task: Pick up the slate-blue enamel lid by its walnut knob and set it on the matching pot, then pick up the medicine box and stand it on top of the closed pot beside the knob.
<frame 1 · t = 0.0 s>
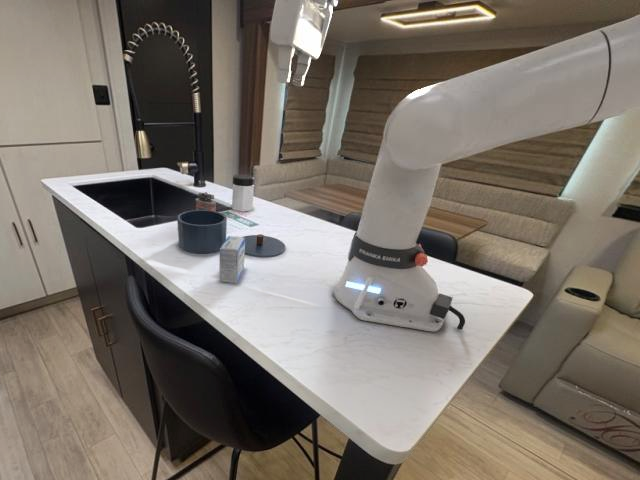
hand: (290, 84, 55), 39 cm above the kitchen island, tool pointing down, fingers open, 8 cm apart
lighter: (205, 223, 106), on the kitchen island
pot: (202, 246, 89), on the kitchen island
pot lid: (259, 246, 89), point 1 cm above the kitchen island
jar: (241, 208, 122), on the kitchen island
medicine box: (231, 276, 75), on the kitchen island
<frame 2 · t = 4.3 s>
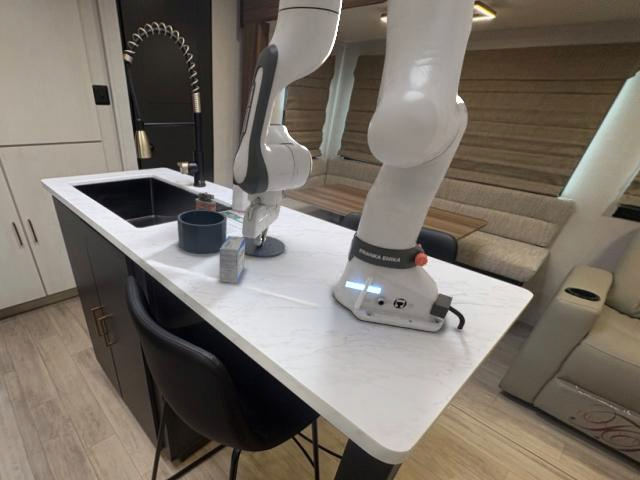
hand: (259, 242, 89), 2 cm above the kitchen island, tool pointing down, fingers closed on pot lid, 2 cm apart
pot lid: (259, 246, 89), point 1 cm above the kitchen island, touching gripper
everything else where it was.
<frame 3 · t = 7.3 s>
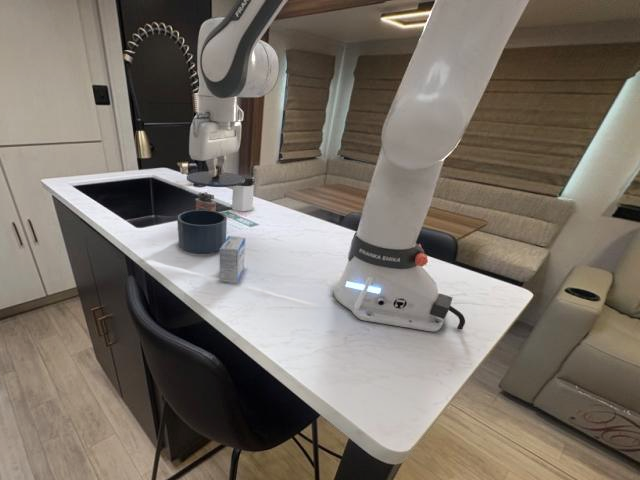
hand: (216, 175, 79), 20 cm above the kitchen island, tool pointing down, fingers closed on pot lid
pot lid: (215, 179, 79), point 19 cm above the kitchen island, touching gripper
everything else where it was.
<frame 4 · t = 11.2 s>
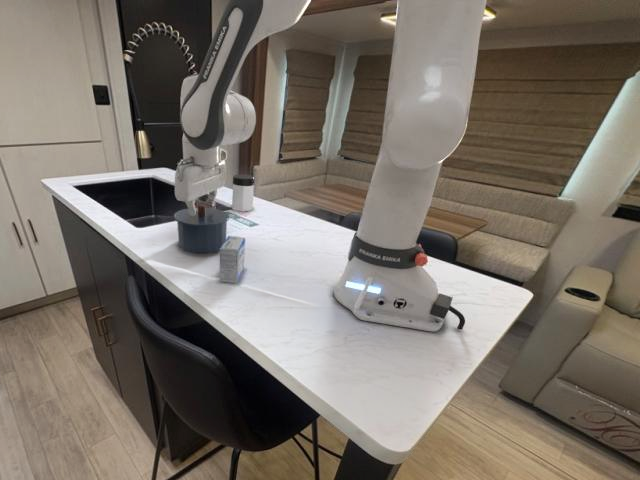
hand: (202, 210, 83), 10 cm above the kitchen island, tool pointing down, fingers open, 8 cm apart
pot lid: (201, 217, 84), point 8 cm above the kitchen island, touching pot
everything else where it was.
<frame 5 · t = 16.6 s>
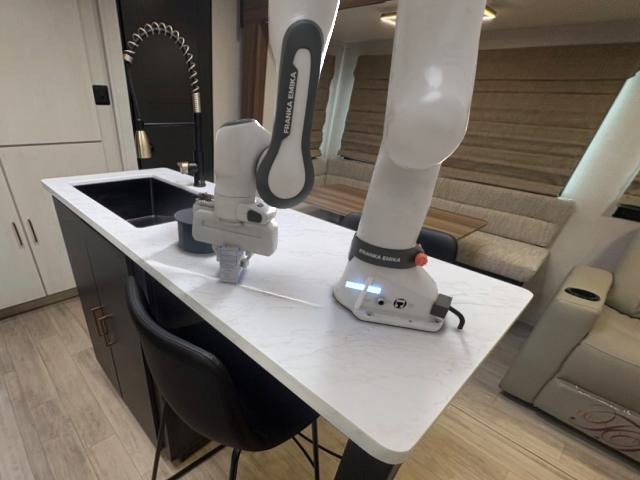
hand: (232, 264, 73), 3 cm above the kitchen island, tool pointing down, fingers closed on medicine box, 5 cm apart
medicine box: (231, 276, 75), on the kitchen island, touching gripper
everything else where it was.
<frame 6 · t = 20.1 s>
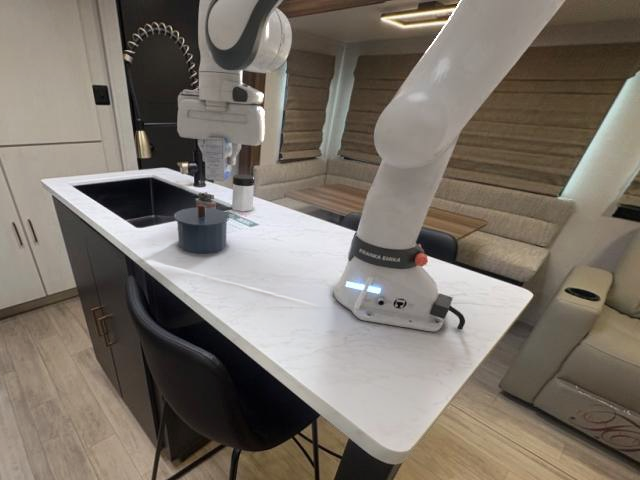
hand: (219, 163, 71), 24 cm above the kitchen island, tool pointing down, fingers closed on medicine box, 5 cm apart
medicine box: (218, 178, 73), point 20 cm above the kitchen island, touching gripper
everything else where it was.
when the fingers open (12 cm above the kitchen island, at t = 23.6 s): medicine box stays where it is, resting on pot lid.
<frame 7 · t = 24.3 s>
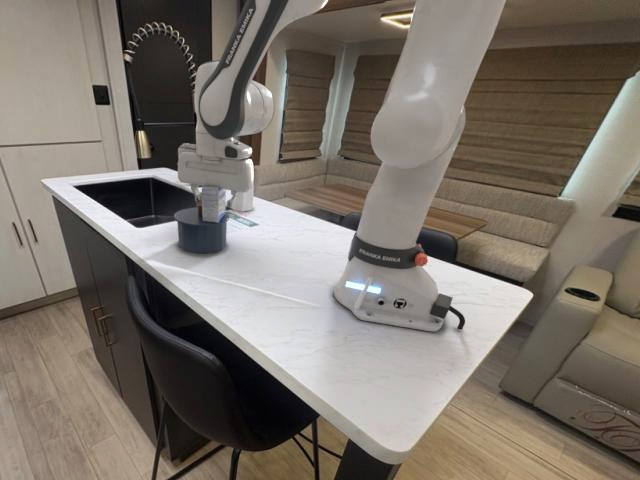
hand: (214, 204, 81), 13 cm above the kitchen island, tool pointing down, fingers open, 8 cm apart
pot lid: (201, 217, 84), point 8 cm above the kitchen island, touching medicine box, pot
medicine box: (214, 218, 83), point 9 cm above the kitchen island, touching pot lid
everything else where it was.
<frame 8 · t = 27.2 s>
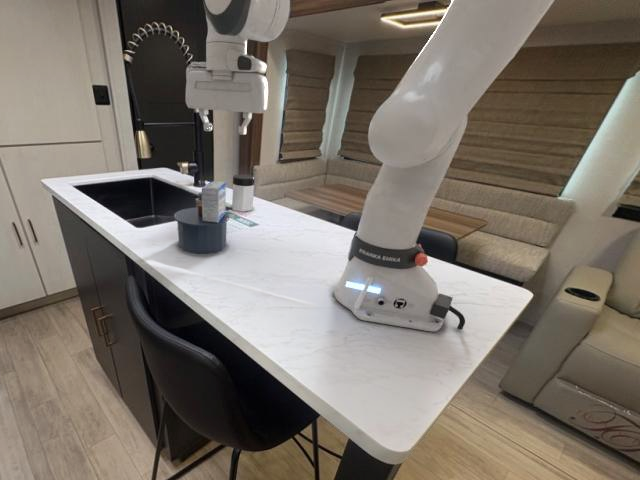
hand: (224, 132, 76), 29 cm above the kitchen island, tool pointing down, fingers open, 8 cm apart
nothing on the kitchen island moved.
at the end: pot lid 0.1 cm off-centre on the pot, point 8.5 cm above the pot's base; medicine box inside the target area on the pot (3.8 cm from its centre), point 8.8 cm above the pot's base; medicine box tilted 0° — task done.
